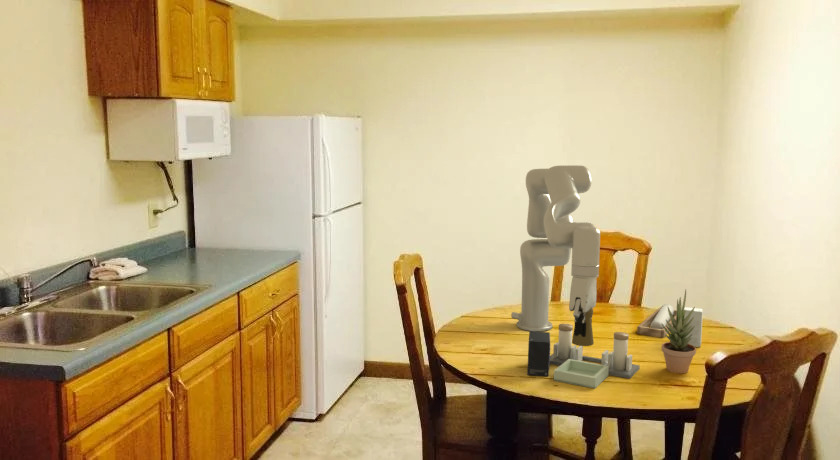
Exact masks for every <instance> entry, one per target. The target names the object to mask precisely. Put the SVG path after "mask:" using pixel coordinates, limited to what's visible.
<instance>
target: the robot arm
mask: <svg viewBox="0 0 840 460" xmlns="http://www.w3.org/2000/svg"><path fill="white" fill-rule="evenodd" d="M591 186H592V175H591V172H590V171H589V169H588V168H587V167H586V166H584V165H574V164H573V165H554V166H551V167H549V168H533V169H530V170H529V171H528V172H527V173H526V175H525V187H526V191H527V196H528V208H527V220H526V231H527V233H528V235H529V236H530V237H532V238H535V239H527V240H525V241H523V242H522V244H521V245H520V249H519V252H520V253H519V254H520V262H521V273H522V274H521V310H520V311H521V312H516V311H512V312H511V319H514V320H518V321H517V322H516V327H517V328H518V329H520V330H524V331H528V332H530V331H537V332H546V331H550V330H552V329H553V323H552V322H550V321H549V309H550V308H549V307H550V305H549V303H550V302H549V301H550V297H549V296H550V278H549V276H548V273H547V272H546V271H545V270H544V269H543V267H561V266H562V267H564V266H566V265H568V264H569V262H570V258H571V272H570V273H571V274H570V275H571V277H572V278H571V284H570V291H569V304H568V305H569V306H568V307H569V309H568V310H569V311H570V312H573V313H572V316H573V318H574V319H573V320H574V327H575V328H574V327H573V333H574V335H575V336H578V335H579V334H581V335H582V337H585V336H586V323H585V318H586V312H588V311H589V310H590V308H591V307H592V308H593V309H594V308H595V307H596V304H597V294H598V293H597V292H598V291H597V290H598V289H597V278H598V277H599V276H600V253H601V252H600V248H601V230H600V229H599V228H597V227H596V226H595V225H594V224H593V223H590V222H576V221H575V222H574V220H573V219H574V218H573V216H572V213H574V212H575V211H576V210H577V209H578V208H579V206H580V204H581V198H580V195H579V194H584V193H587V192H588V191H589V190H590V188H591ZM580 309H581V310H583V312H581V311H580ZM580 314H583V317H582V315H580ZM592 318H593V315H592V316H591V322H592V323H593V319H592Z"/></svg>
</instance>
